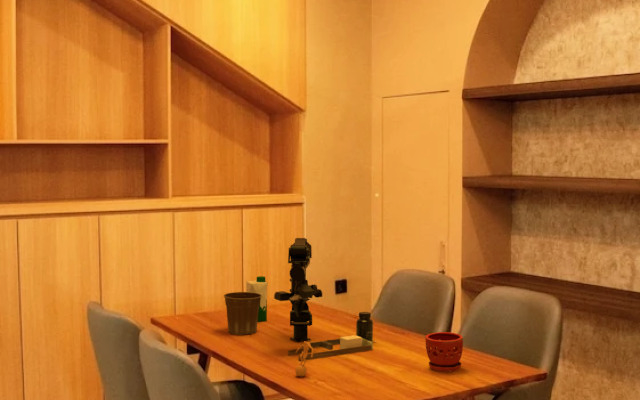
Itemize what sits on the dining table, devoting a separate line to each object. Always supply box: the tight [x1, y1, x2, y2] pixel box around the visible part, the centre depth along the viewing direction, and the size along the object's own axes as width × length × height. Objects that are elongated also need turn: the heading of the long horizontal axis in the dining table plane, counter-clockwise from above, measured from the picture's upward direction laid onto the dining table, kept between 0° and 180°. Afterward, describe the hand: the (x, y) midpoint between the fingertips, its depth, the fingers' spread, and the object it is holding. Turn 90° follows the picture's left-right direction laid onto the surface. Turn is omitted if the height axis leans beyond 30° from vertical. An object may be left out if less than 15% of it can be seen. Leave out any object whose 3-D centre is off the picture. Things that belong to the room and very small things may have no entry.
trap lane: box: [287, 338, 374, 362], centre depth 301 cm, size 15×33×3 cm, turn 120°
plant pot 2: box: [425, 331, 464, 373], centre depth 276 cm, size 13×13×12 cm
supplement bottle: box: [355, 311, 374, 342], centre depth 315 cm, size 7×7×12 cm
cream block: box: [339, 334, 362, 349], centre depth 303 cm, size 5×7×5 cm
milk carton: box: [245, 275, 268, 323], centre depth 355 cm, size 9×9×20 cm
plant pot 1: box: [223, 291, 262, 336], centre depth 332 cm, size 16×16×16 cm
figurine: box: [295, 341, 314, 378], centre depth 267 cm, size 8×6×12 cm
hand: (298, 316), depth 303 cm, fingers closed
